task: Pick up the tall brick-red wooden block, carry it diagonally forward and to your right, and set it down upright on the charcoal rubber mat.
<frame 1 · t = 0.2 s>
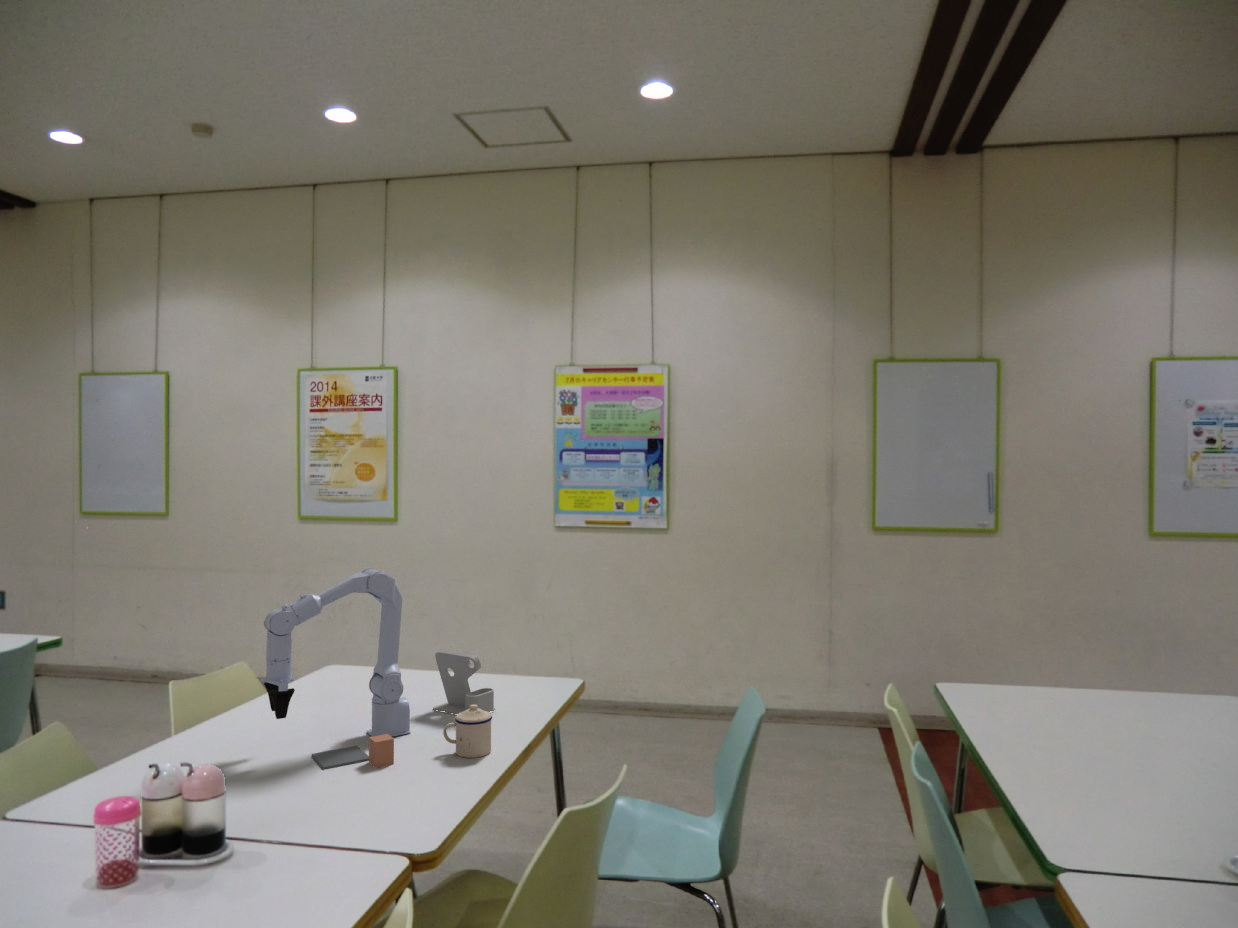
hand: (278, 714, 193), 10 cm above the table, tool pointing down, fingers open, 7 cm apart
teacup with lid: (467, 753, 194), on the table
phone holder: (464, 711, 230), on the table
charcoal mat: (340, 757, 190), on the table
brick-red block: (381, 763, 187), on the table
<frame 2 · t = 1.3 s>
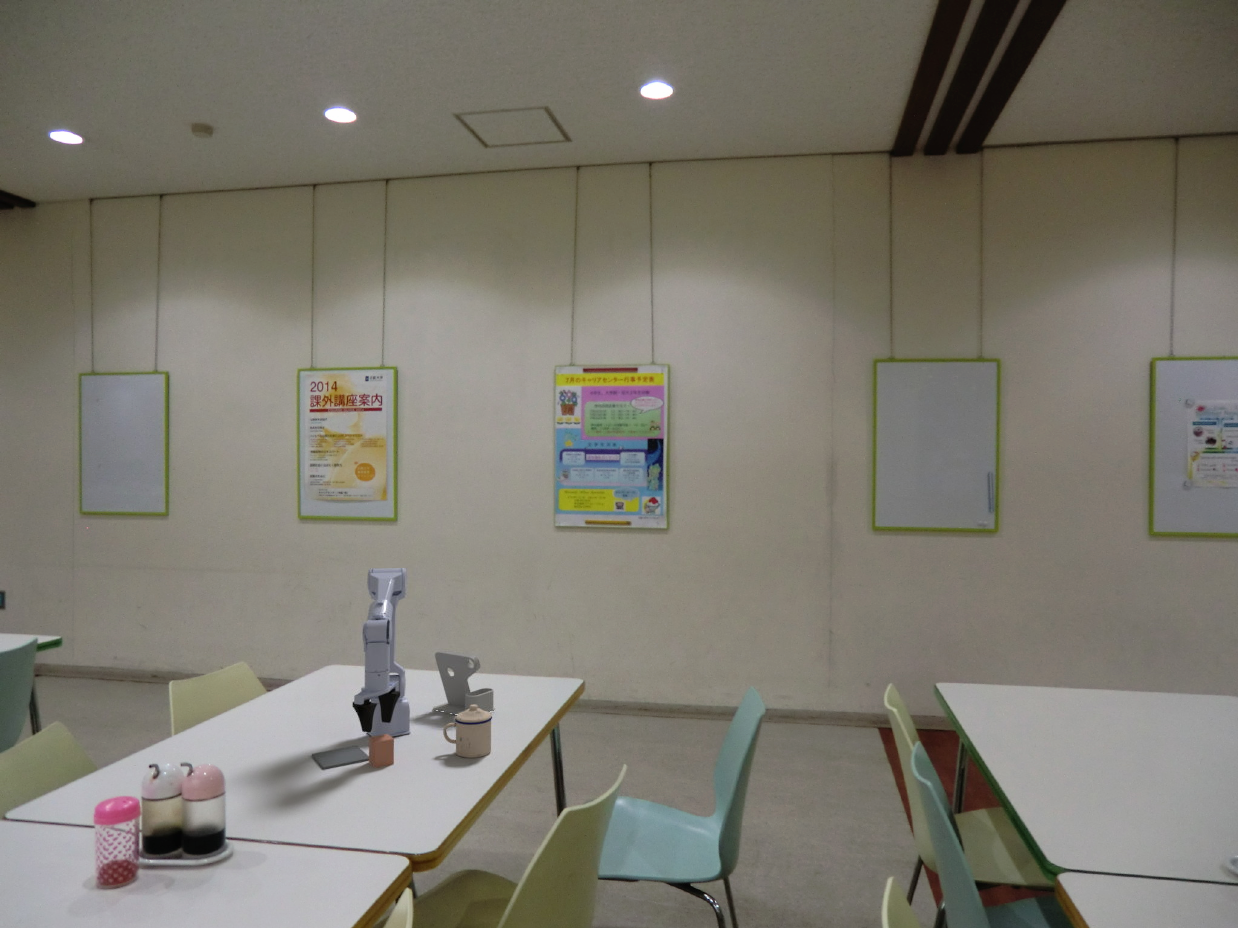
hand: (376, 726, 188), 9 cm above the table, tool pointing down, fingers open, 7 cm apart
nothing on the table moved.
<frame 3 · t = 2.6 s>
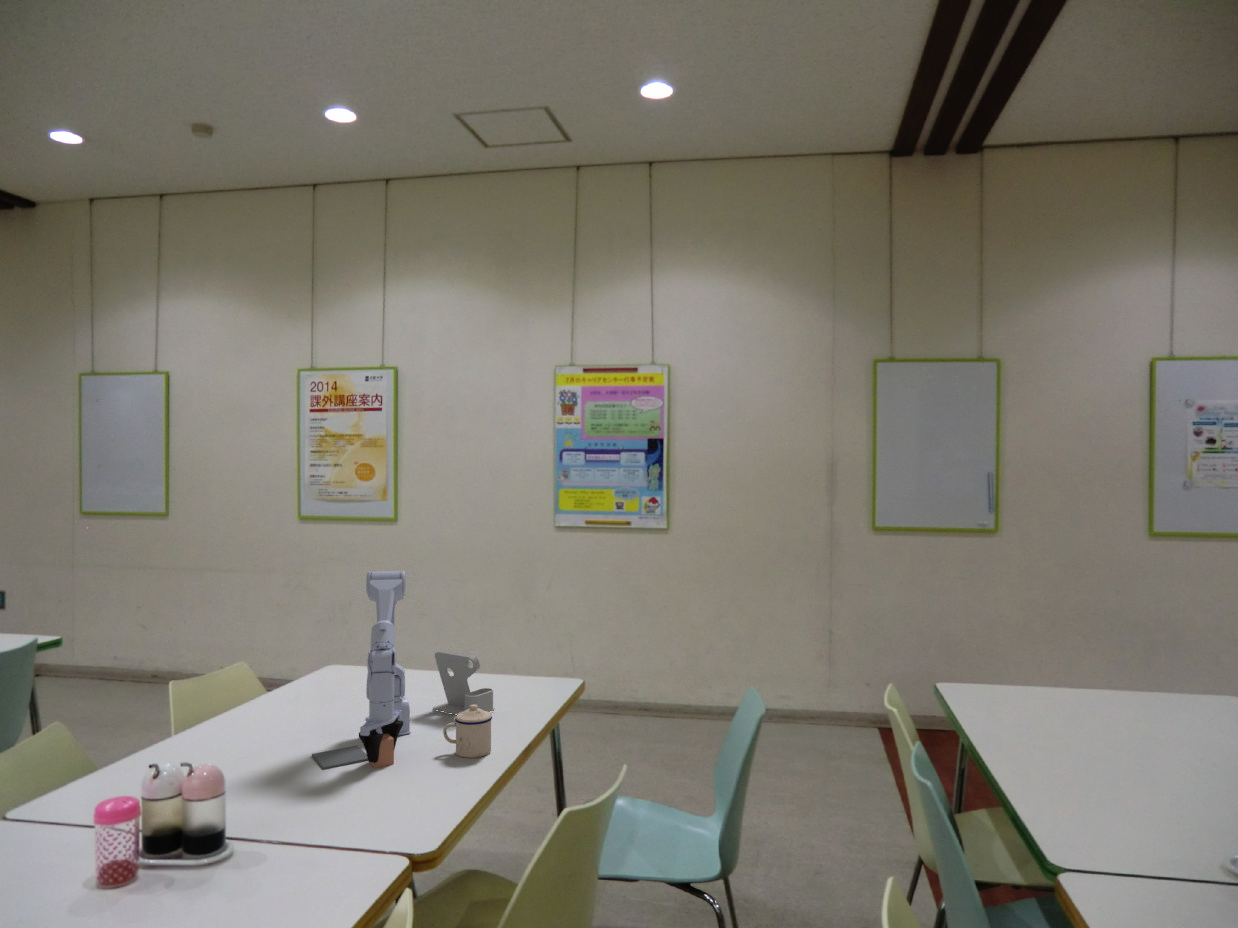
hand: (381, 756, 187), 1 cm above the table, tool pointing down, fingers closed on brick-red block, 6 cm apart
brick-red block: (381, 762, 187), on the table, touching gripper
everything else where it was.
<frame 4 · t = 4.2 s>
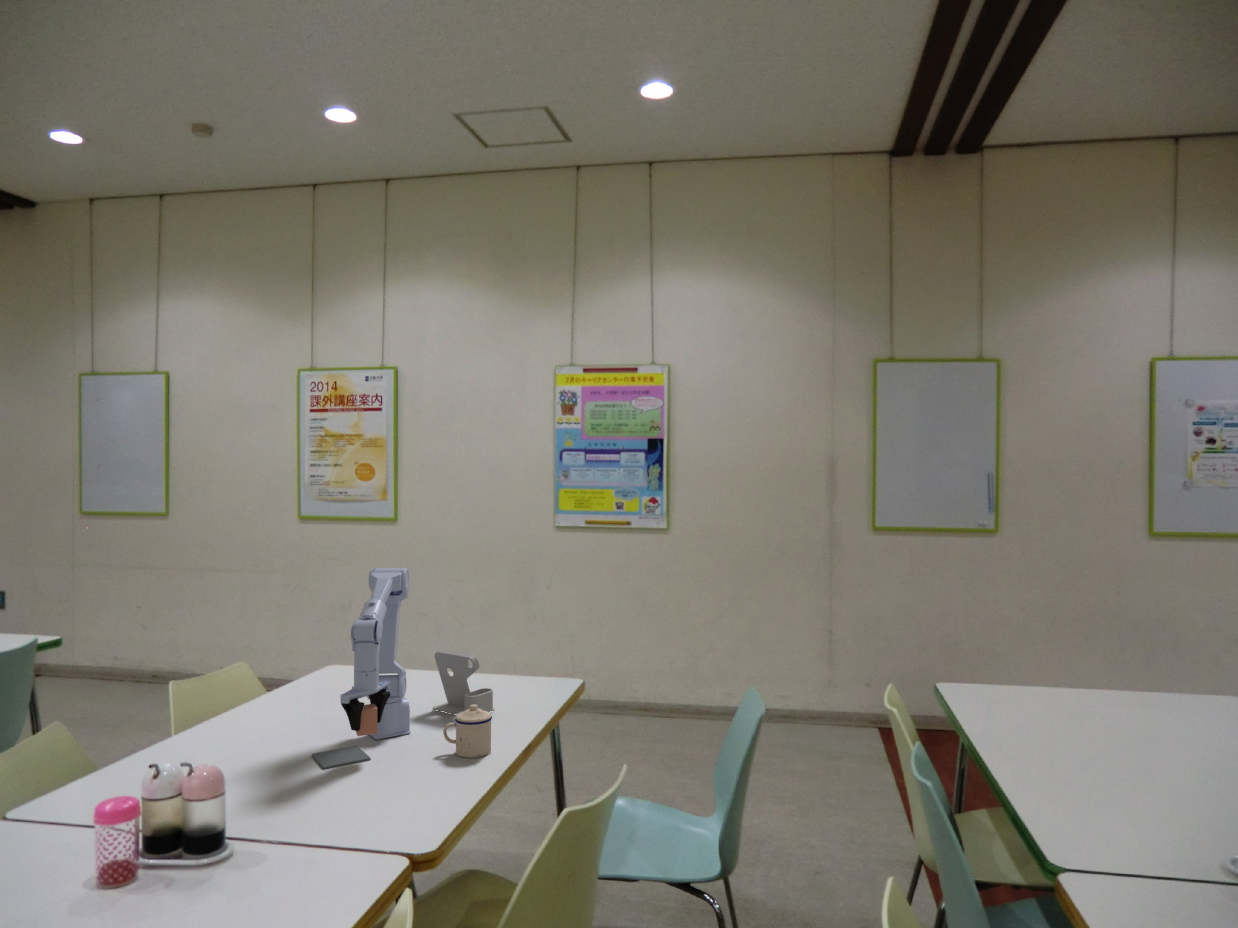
hand: (366, 725, 189), 8 cm above the table, tool pointing down, fingers closed on brick-red block, 6 cm apart
brick-red block: (366, 731, 189), point 7 cm above the table, touching gripper
everything else where it was.
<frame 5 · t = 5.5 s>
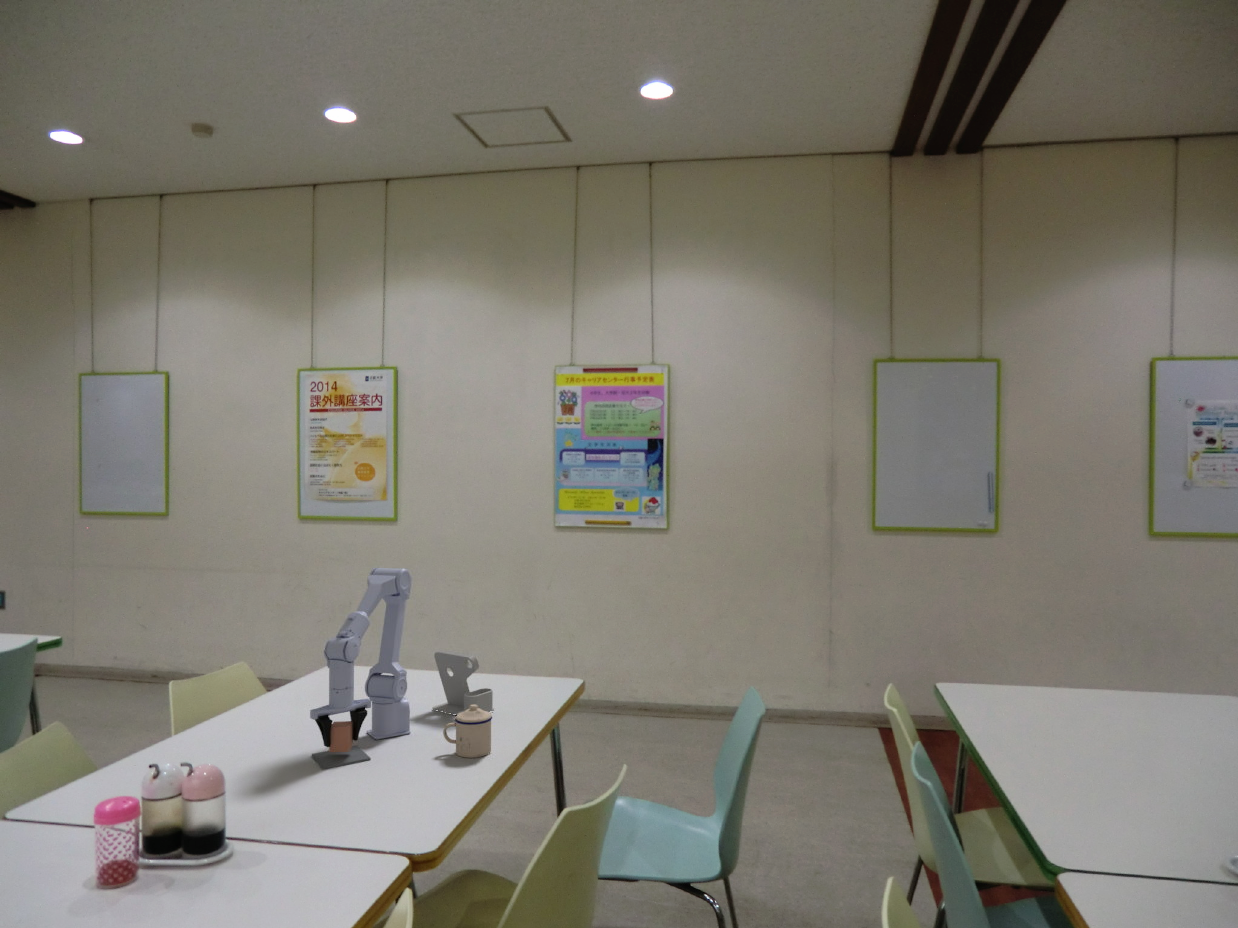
hand: (341, 742, 191), 4 cm above the table, tool pointing down, fingers closed on brick-red block, 6 cm apart
brick-red block: (341, 748, 190), point 2 cm above the table, touching gripper
everything else where it was.
when the fingers open (3 cm above the table, at t = 6.2 s): brick-red block drops 1 cm, resting on charcoal mat.
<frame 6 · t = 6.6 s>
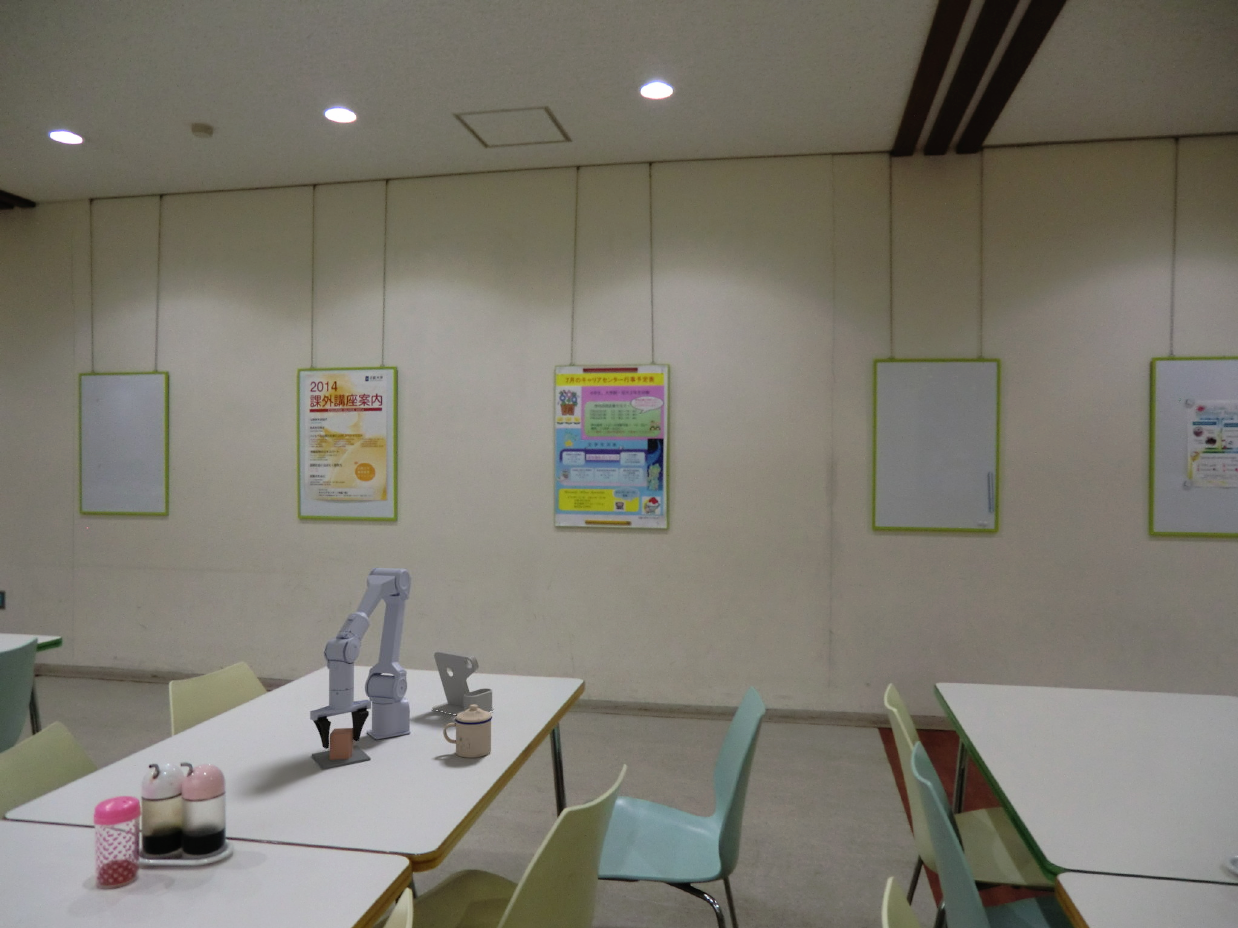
hand: (341, 743, 191), 3 cm above the table, tool pointing down, fingers open, 7 cm apart
brick-red block: (341, 755, 190), resting on charcoal mat
everything else where it was.
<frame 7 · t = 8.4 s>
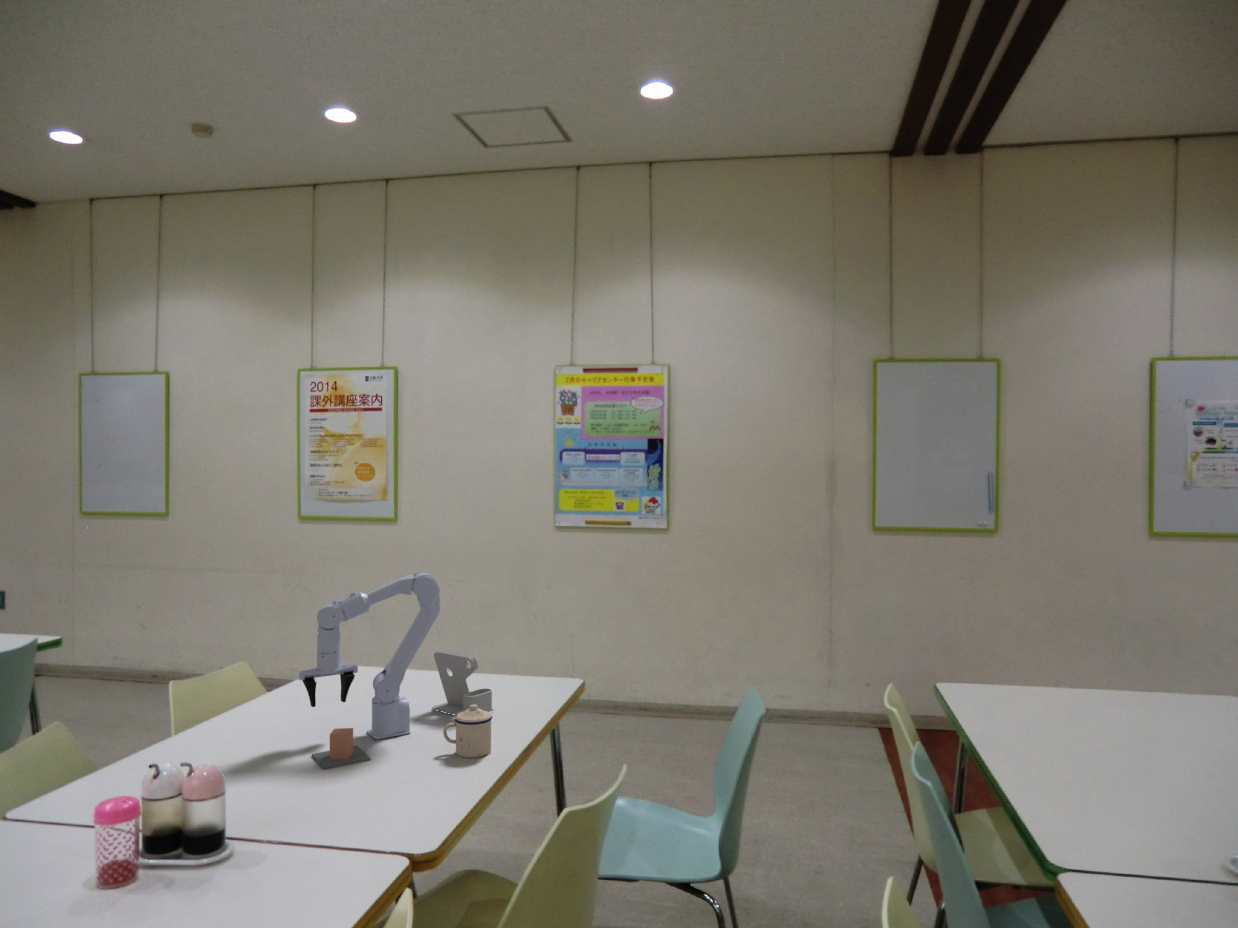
hand: (328, 703, 204), 9 cm above the table, tool pointing down, fingers open, 7 cm apart
nothing on the table moved.
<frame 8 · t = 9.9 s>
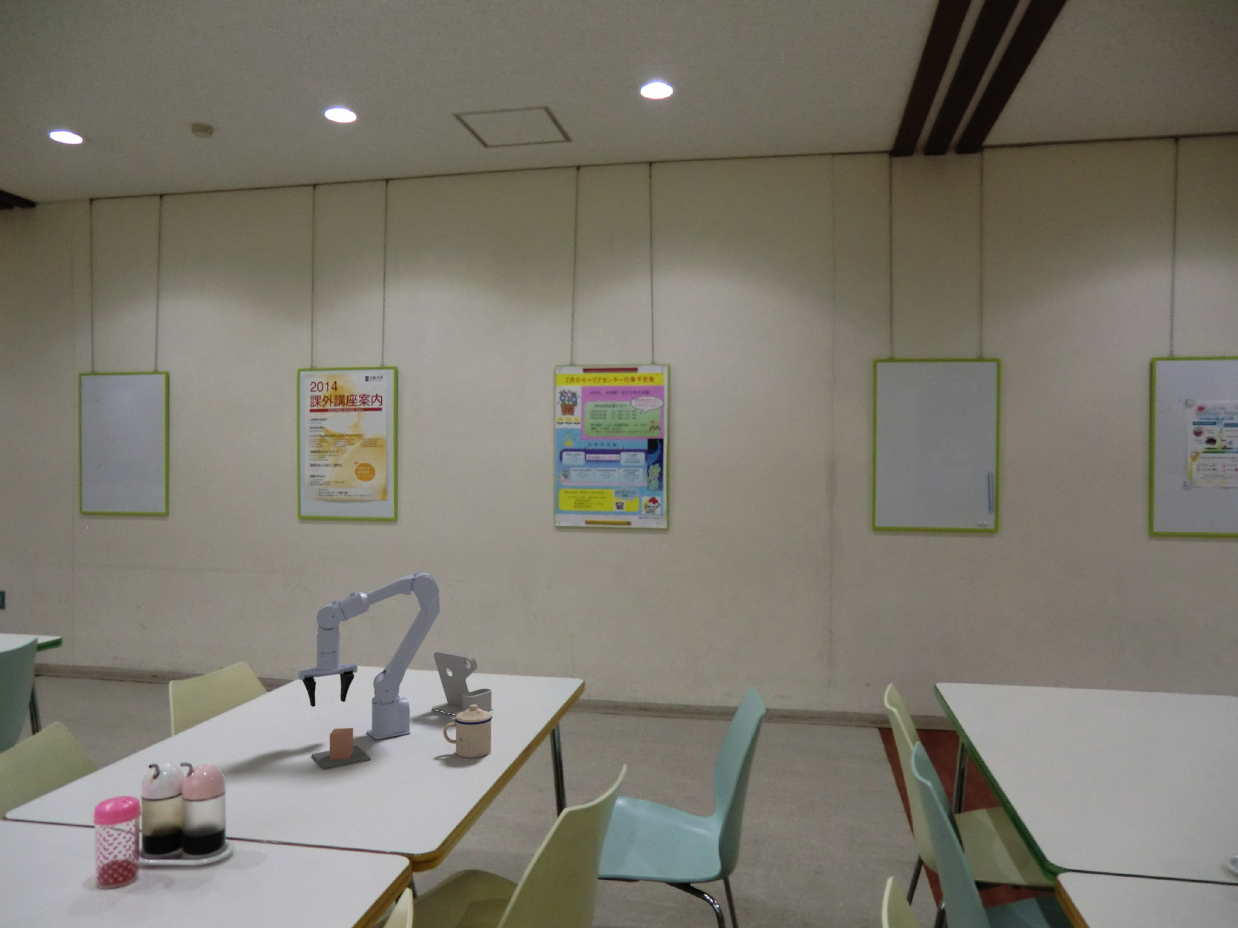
hand: (328, 703, 204), 9 cm above the table, tool pointing down, fingers open, 7 cm apart
nothing on the table moved.
at the end: brick-red block inside the target area on the charcoal mat (0.1 cm from its centre), point 0.5 cm above the charcoal mat's base; brick-red block tilted 0°; the gripper is holding nothing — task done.
